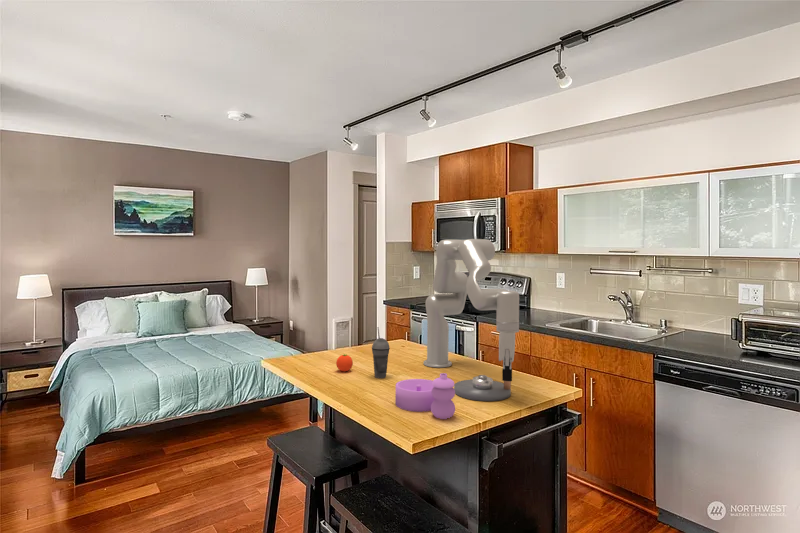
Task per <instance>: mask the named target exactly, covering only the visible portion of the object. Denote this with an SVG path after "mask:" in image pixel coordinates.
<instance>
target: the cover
mask: <svg viewBox="0 0 800 533" xmlns="http://www.w3.org/2000/svg"><path fill="white" fill-rule="evenodd" d="M472 379H473V388H475V389H479V390H490V389H492V386H493V381H494V380H493V378H492V377H489V376H488V375H486V374H480V375H478V376H477V375H476V376H473V377H472Z"/></svg>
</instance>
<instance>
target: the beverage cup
mask: <svg viewBox="0 0 800 533" xmlns="http://www.w3.org/2000/svg"><path fill="white" fill-rule="evenodd" d="M377 336H378V338H376V339H375V340H374V341H373V342H372V346H371V352H372V358H373V360H372V361H373V373H374V378H376V379H386V378H385V377H387V371H388V361H389V353H390V348H391V347H390V344H389V342H388V340H387V339H385V338H382V337H381V336H380V329H379V326H378V327H377Z"/></svg>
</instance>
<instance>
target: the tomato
mask: <svg viewBox="0 0 800 533" xmlns="http://www.w3.org/2000/svg"><path fill="white" fill-rule="evenodd" d="M335 364H336V368H337V369H338V371H340V372H343V373H344V372H348V371H349V370H351V369H352V368H353V366H354V365H353V364H354V363H353V358H352V357H351V356H350V355H348V354H344V353H343V354H342V355H340V356H338V358H337V359H336V361H335Z"/></svg>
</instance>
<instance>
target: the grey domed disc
mask: <svg viewBox="0 0 800 533" xmlns="http://www.w3.org/2000/svg"><path fill="white" fill-rule="evenodd" d="M511 384H512V381H503V382H501V381H497V380H493V386H492V389H490V390H479V389H475V388H473V378H471V379H464V380H459V381H456V382H454V387H453V388H454V390H455V395H457V396H458V397H460V398H463V399H467V400H472V401H479V402H480V401H481V402H494V401H495V402H497V401H503V400H507V399H509V398H511V393H512V392H511V390H512V385H511Z"/></svg>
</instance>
